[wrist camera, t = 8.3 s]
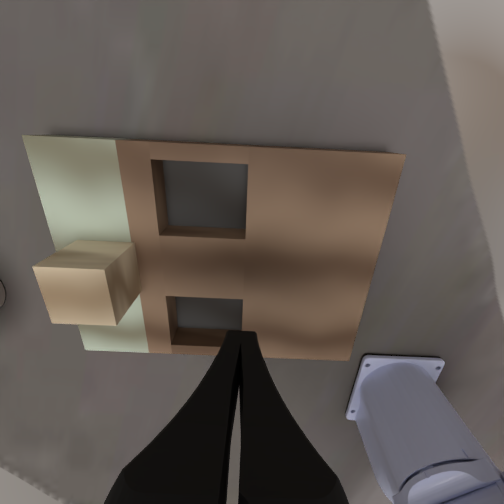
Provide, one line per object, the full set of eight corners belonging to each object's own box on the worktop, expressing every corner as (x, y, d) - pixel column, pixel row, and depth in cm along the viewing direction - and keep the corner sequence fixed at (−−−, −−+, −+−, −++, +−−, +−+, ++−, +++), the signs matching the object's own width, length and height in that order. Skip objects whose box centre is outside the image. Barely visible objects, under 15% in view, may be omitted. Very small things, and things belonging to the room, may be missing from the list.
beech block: (141, 290, 20) (116, 325, 16) (89, 288, 20) (52, 323, 16) (134, 242, 18) (104, 269, 14) (77, 239, 18) (32, 266, 14)
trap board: (340, 340, 25) (348, 360, 23) (100, 330, 25) (85, 350, 22) (386, 152, 18) (406, 154, 16) (51, 135, 18) (21, 135, 15)
